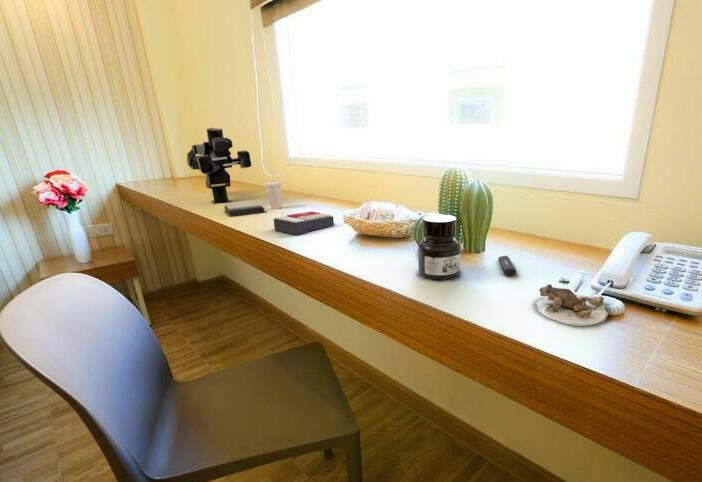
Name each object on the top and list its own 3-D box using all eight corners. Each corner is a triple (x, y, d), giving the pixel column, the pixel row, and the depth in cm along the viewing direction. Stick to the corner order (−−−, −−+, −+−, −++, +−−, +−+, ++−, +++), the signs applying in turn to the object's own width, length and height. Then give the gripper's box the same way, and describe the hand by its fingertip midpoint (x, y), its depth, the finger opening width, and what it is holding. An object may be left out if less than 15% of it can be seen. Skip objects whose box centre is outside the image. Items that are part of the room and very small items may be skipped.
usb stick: (497, 261, 91) (497, 255, 90) (509, 261, 91) (509, 255, 90) (504, 276, 82) (504, 269, 81) (516, 276, 82) (517, 269, 81)
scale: (225, 211, 151) (223, 204, 150) (257, 207, 157) (256, 201, 156) (230, 216, 142) (228, 209, 141) (264, 212, 148) (263, 205, 147)
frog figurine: (532, 320, 63) (534, 298, 62) (537, 292, 74) (540, 273, 72) (610, 331, 60) (615, 308, 58) (604, 300, 70) (608, 280, 69)
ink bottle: (427, 284, 79) (427, 225, 74) (410, 270, 86) (409, 216, 82) (469, 276, 82) (471, 220, 78) (449, 263, 90) (450, 211, 85)
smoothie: (275, 210, 151) (269, 173, 146) (264, 208, 154) (258, 172, 149) (288, 207, 156) (283, 171, 151) (277, 206, 159) (272, 170, 154)
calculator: (333, 214, 125) (295, 220, 114) (334, 227, 126) (296, 235, 115) (311, 210, 131) (272, 216, 120) (312, 223, 133) (274, 230, 121)
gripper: (189, 138, 148) (199, 148, 137) (240, 133, 158) (253, 142, 147) (196, 168, 154) (206, 179, 143) (245, 161, 164) (257, 171, 153)
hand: (231, 167), depth 147 cm, fingers open, 9 cm apart
